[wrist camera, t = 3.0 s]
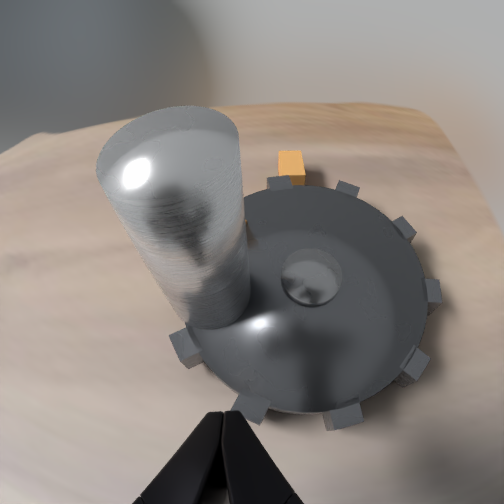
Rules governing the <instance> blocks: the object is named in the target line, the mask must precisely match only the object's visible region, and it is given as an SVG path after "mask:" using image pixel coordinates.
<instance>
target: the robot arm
mask: <svg viewBox="0 0 504 504" xmlns="http://www.w3.org/2000/svg"><path fill="white" fill-rule="evenodd" d="M140 496H141V497H138V498H137V499H136V500H135V501H134V502H133V503H132V504H304V503H303V502H302V500H301V499H300V498H299V496H298V495H297V494H296V493H295V492H294V490H293V488H292V487H291V486H290V484H289V483H288V482H287V480H286V479H285V477H284V476H283V475H282V473H281V472H280V470H279V469H278V467H277V466H276V465H275V463H274V462H273V460H272V459H271V457H270V456H269V454H268V453H267V451H266V450H265V448H264V447H263V445H262V444H261V442H260V441H259V439H258V438H257V436H256V435H255V433H254V432H253V430H252V429H251V427H250V426H249V424H248V422H247V421H246V419H245V418H244V416H243V415H242V413H241V412H240V411H239V410H233V411H225V412H224V413H223V412H221V411H219V412H208V413H207V414H206V415H205V416H204V418H203V419H202V420H201V421H200V423H199V424H198V425H197V427H196V428H195V429H194V430H193V432H192V433H191V434H190V435H189V437H188V438H187V439H186V440H185V442H184V443H183V444H182V445H181V447H180V448H179V449H178V450H177V452H176V453H175V454H174V455H173V457H172V458H171V459H170V460H169V461H168V463H167V464H166V465H165V466H164V467H163V469H162V470H161V471H160V472H159V473H158V475H157V476H156V477H155V478H154V479H153V480H152V482H151V483H150V484H149V485H148V486H147V488H146V489H145V490H144V491H143V492H142V493H141V494H140Z"/></svg>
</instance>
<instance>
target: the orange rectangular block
mask: <svg viewBox="0 0 504 504" xmlns="http://www.w3.org/2000/svg"><path fill="white" fill-rule="evenodd" d="M278 171H279V176H284V175H289V177H290V180H291V183H292V185H304V184H305V176H306V174H305V169H304V164H303V159H302V154H301V151H279V162H278Z"/></svg>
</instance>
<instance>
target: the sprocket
mask: <svg viewBox="0 0 504 504" xmlns="http://www.w3.org/2000/svg"><path fill="white" fill-rule="evenodd" d="M96 173H97V178H98V180H99V182H100V184H101V186H102V188H103V190H104V192H105V194H106V196H107V198H108V199H109V201H110V203H111V205H112V207H113V209H114V211H115V212H116V214H117V216H118V218H119V220H120V221H121V223H122V225H123V227H124V229H125V230H126V232H127V234H128V236H129V237H130V239H131V241H132V242H133V244H134V246H135V248H136V249H137V251H138V253H139V254H140V256H141V258H142V259H143V261H144V263H145V264H146V266H147V268H148V269H149V271H150V273H151V274H152V276H153V277H154V279H155V281H156V282H157V284H158V286H159V287H160V289H161V290H162V292H163V293H164V295H165V297H166V298H167V300H168V301H169V303H170V304H171V306H172V307H173V309H174V310H175V312H176V313H177V315H178V316H179V317H180V318H181V319H182V320H183V321H184V322H185V324H186V328H184V329H182V330H179V331H177V332H175V333H173V334H171V335H169V337H170V340H171V342H172V344H173V347H174V349H175V351H176V353H177V355H178V358H179V360H180V362H182V363H183V364H184V365H185V366H186V367H187V368H188V369H190V368H192V367H194V366H196V365H198V364H200V363H203V362H205V363H206V364H207V365H208V367H209V368H210V369H211V370H212V371H213V372H214V374H215V375H216V376H217V377H218V378H219V379H220V380H221V381H222V382H223V383H224V384H225V385H226V386H228V387H229V388H230V389H231V390H232V391H234V392H235V393H237V394H238V397H237V399H236V401H235V403H234V405H233V407H232V409H231V410H230V411H233V410H239V411H240V412H241V413H242V415H243V416H244V418H245V419H246V420H249V421H251V422H253V423H255V424H258V425H260V424H261V422H262V420H263V418H264V417H265V415H266V413H267V411H268V409H271V410H275V411H278V412H283V413H291V414H320V413H323V418H324V422H325V427H326V431H332V430H337V429H341V428H344V427H348V426H351V425H354V424H358V423H361V422H364V419H363V415H362V411H361V407H360V403H359V402H361V401H363V400H365V399H367V398H369V397H371V396H373V395H375V394H376V393H378V392H379V391H381V390H382V389H383V388H385V387H386V386H387V385H389V384H390V383H391V382H392V381H393V380H394V381H395V382H396V383H398V384H399V385H400V386H402V387H404V386H407V385H409V384H411V383H414V382H416V381H417V380H418V379H419V377H420V376H421V374H422V372H423V371H424V369H425V367H426V366H427V364H428V362H429V361H430V359H431V358H430V357H428V356H427V355H426V354H425V353H423V352H422V351H421V350H420V349H418V346H419V343H420V341H421V338H422V335H423V332H424V329H425V324H426V319H427V315H429V314H430V313H432V312H433V311H434V310H435V309H436V308H437V307H438V306H439V305H440V304H441V303H442V297H441V289H440V282H439V280H437V279H425V276H424V272H423V270H422V267H421V264H420V261H419V259H418V257H417V255H416V253H415V251H414V249H413V247H412V246H411V244H410V243H411V241H412V240H413V238H414V236H415V235H416V233H417V232H416V231H415V230H414V229H413V227H412V226H411V225H410V224H409V223H408V222H407V221H406V220H405V218H404V217H403V216H401V217H399V218H398V219H396V220H394V221H391V220H390V219H389V218H388V217H386V216H385V215H384V214H383V213H381V212H380V211H379V210H377V209H376V208H374V207H373V206H371V205H369V204H368V203H366V202H364V201H363V200H360V199H358V198H357V195H358V192H359V189H360V188H359V187H357V186H354V185H351V184H348V183H346V182H343V181H340V180H339V182H338V184H337V187H336V189H335V190H334V189H329V188H325V187H318V186H309V185H292V183H291V180H290V177H289V175H284V176H276V177H269V178H267V189H266V190H262V191H259V192H256V193H253V194H251V195H248V196H246V197H244V198H243V186H242V173H241V161H240V148H239V136H238V131H237V128H236V126H235V125H234V123H233V122H232V121H231V120H230V119H229V118H228V117H227V116H225V115H224V114H222V113H220V112H218V111H216V110H213V109H210V108H206V107H200V106H176V107H169V108H165V109H160V110H157V111H154V112H151V113H148V114H145V115H143V116H141V117H139V118H137V119H135V120H133V121H131V122H130V123H128V124H127V125H125V126H124V127H122V128H121V129H120V130H118V131H117V132H116V133H115V134H114V135H113V136H112V137H111V138H110V139H109V140H108V141H107V143H106V144H105V145H104V147H103V148H102V150H101V152H100V154H99V157H98V159H97V164H96Z"/></svg>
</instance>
